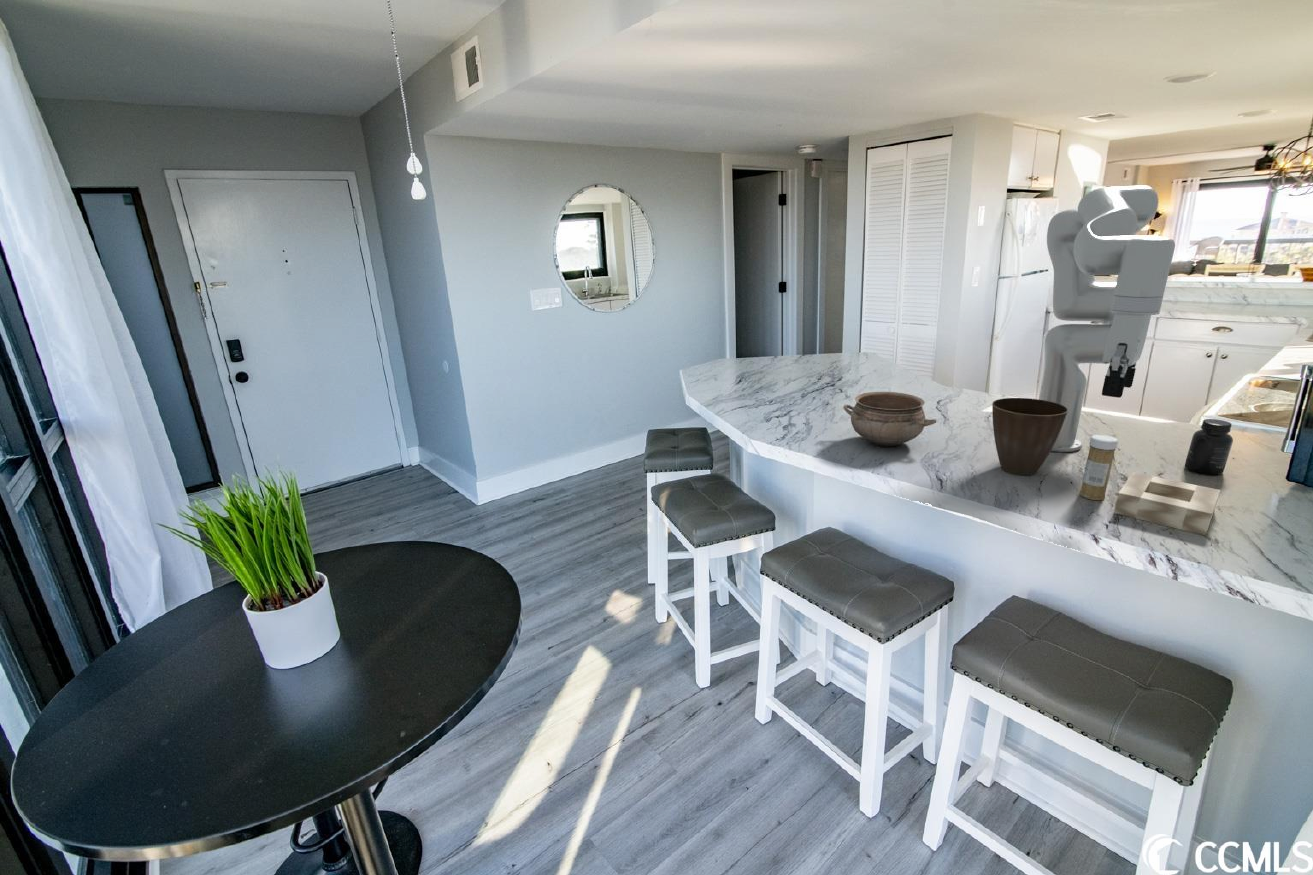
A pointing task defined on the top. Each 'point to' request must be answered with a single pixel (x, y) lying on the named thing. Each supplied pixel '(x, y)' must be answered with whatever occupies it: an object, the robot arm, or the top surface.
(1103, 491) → the sprinkles bottle
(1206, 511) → the socket block
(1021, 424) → the plant pot
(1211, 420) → the supplement bottle
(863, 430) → the cooking pot
